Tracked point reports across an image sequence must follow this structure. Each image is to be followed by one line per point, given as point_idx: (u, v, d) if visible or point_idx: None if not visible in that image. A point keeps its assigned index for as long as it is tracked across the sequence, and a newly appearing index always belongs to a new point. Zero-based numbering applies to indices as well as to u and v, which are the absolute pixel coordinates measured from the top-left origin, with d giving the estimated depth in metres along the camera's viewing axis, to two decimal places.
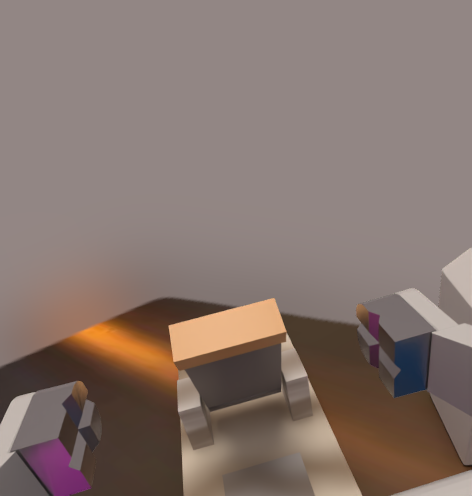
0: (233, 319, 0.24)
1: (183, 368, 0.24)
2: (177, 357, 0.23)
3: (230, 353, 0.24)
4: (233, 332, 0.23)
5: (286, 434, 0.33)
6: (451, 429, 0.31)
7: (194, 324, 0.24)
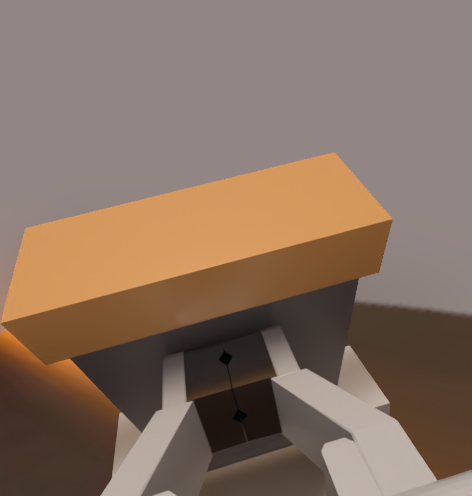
0: (218, 202, 0.08)
1: (56, 355, 0.07)
2: (18, 307, 0.06)
3: (208, 302, 0.07)
4: (216, 231, 0.07)
5: None
6: None
7: (100, 220, 0.08)
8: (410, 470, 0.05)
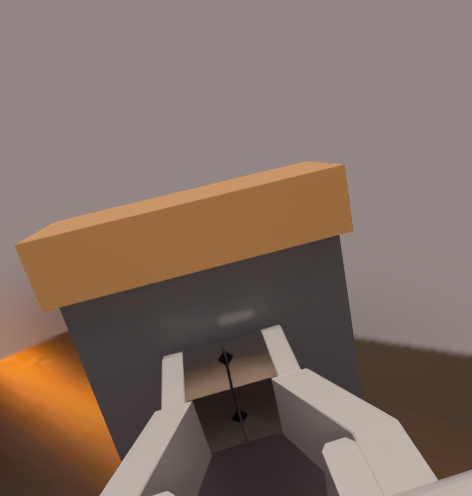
0: (207, 188, 0.10)
1: (53, 299, 0.08)
2: (31, 238, 0.08)
3: (191, 248, 0.08)
4: (201, 194, 0.09)
5: None
6: None
7: (113, 209, 0.10)
8: (411, 470, 0.05)
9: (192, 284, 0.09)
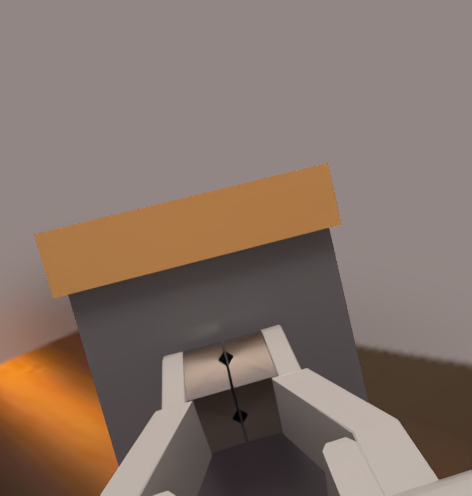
0: None
1: (64, 285, 0.09)
2: None
3: (190, 238, 0.09)
4: None
5: None
6: None
7: None
8: (411, 469, 0.05)
9: (192, 277, 0.09)
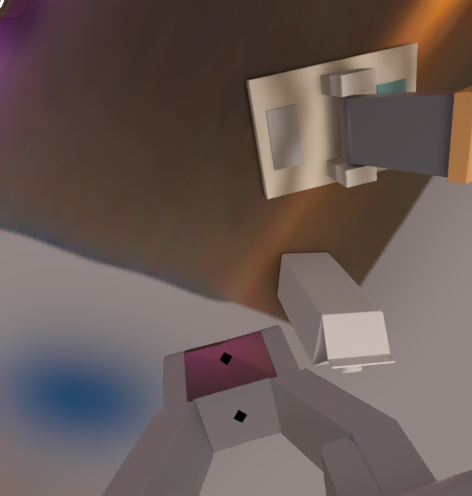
0: None
1: (457, 97, 0.28)
2: None
3: (457, 138, 0.30)
4: None
5: (317, 154, 0.45)
6: (300, 256, 0.51)
7: None
8: (409, 470, 0.05)
9: (448, 133, 0.31)
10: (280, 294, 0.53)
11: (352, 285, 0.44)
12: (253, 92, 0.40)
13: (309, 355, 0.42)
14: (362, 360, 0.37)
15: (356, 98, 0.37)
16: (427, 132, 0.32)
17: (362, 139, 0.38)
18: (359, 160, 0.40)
